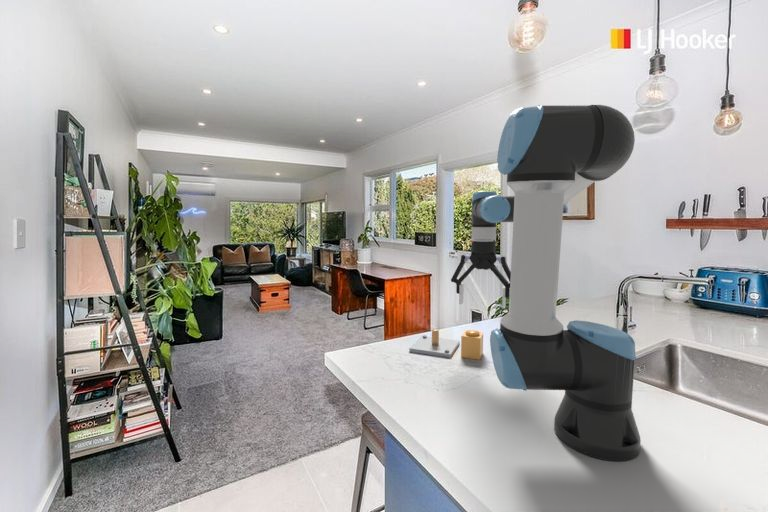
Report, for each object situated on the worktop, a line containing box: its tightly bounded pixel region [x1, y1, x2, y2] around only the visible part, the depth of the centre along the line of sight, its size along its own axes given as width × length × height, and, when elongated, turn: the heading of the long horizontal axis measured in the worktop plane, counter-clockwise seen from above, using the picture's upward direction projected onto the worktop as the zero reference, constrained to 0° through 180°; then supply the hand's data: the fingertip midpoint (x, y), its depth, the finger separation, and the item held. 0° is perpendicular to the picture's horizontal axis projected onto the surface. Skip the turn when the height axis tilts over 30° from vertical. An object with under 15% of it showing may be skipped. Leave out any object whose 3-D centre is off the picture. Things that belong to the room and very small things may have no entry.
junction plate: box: [408, 328, 461, 359], centre depth 125 cm, size 14×14×6 cm
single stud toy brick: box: [460, 329, 484, 361], centre depth 118 cm, size 6×6×8 cm
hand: (482, 305), depth 117 cm, fingers open, 13 cm apart
